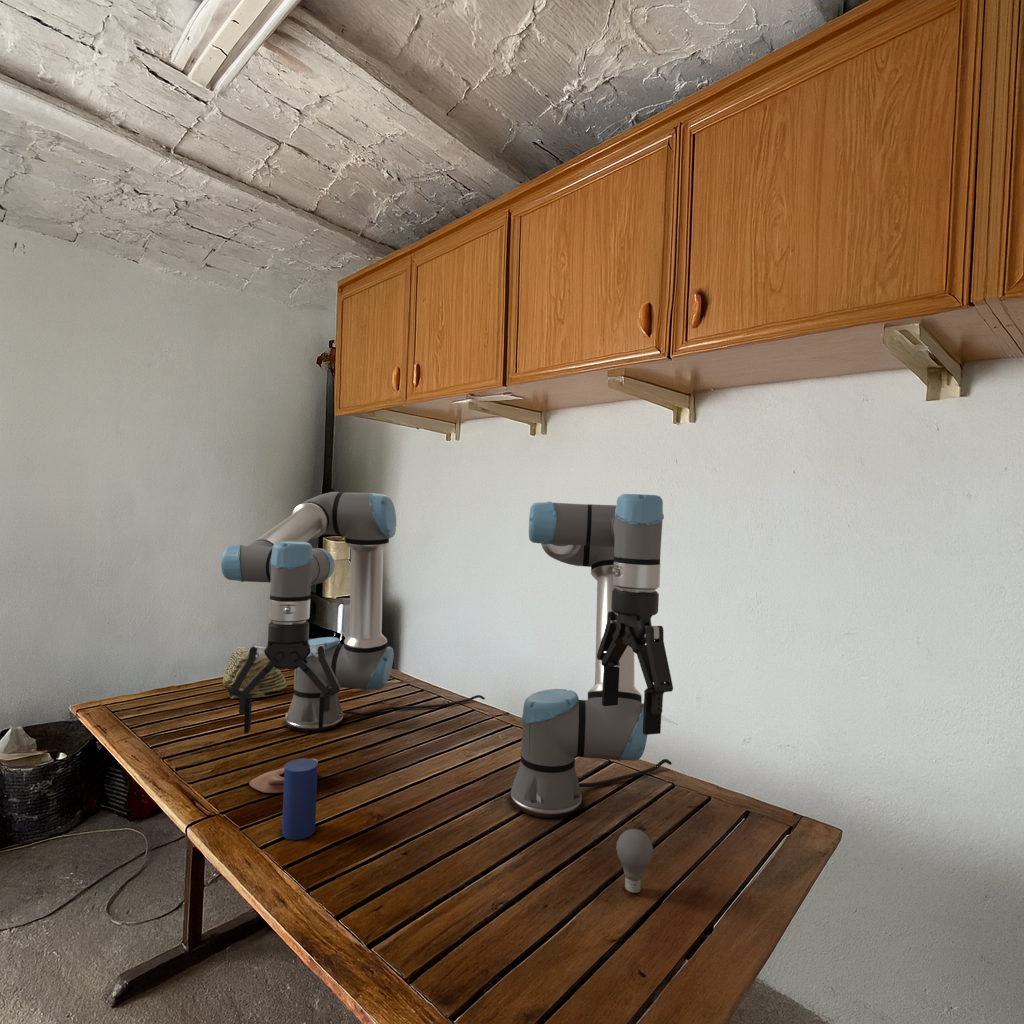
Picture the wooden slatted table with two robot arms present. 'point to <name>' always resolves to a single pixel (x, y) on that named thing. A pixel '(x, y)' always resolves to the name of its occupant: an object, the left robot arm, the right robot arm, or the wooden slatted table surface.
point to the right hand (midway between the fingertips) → (629, 718)
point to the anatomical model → (270, 781)
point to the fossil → (253, 674)
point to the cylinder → (299, 798)
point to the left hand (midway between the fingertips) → (284, 729)
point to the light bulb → (634, 857)
